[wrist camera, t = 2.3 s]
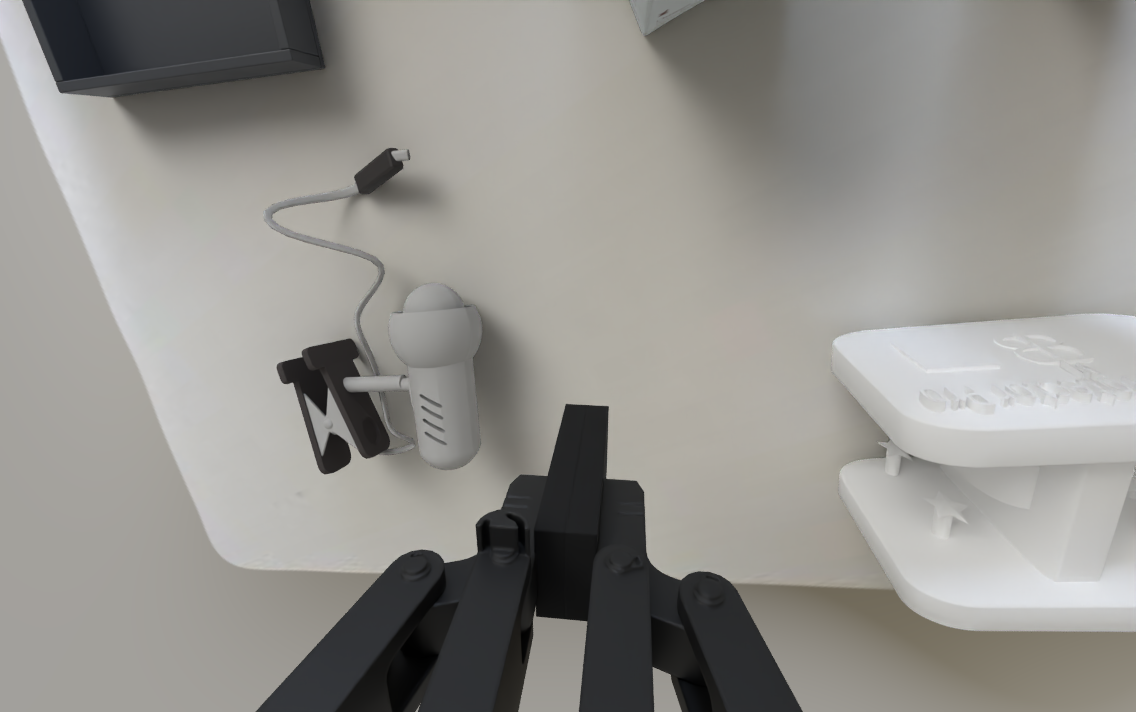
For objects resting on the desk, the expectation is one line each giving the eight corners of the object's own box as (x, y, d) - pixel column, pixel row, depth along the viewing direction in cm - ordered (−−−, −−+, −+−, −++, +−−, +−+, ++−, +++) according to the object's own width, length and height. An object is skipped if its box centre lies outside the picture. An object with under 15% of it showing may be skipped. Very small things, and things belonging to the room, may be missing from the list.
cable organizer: (811, 477, 33) (896, 635, 23) (819, 320, 29) (926, 420, 19) (1077, 467, 31) (1313, 638, 20) (1124, 295, 27) (1443, 393, 17)
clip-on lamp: (304, 181, 33) (345, 455, 35) (215, 161, 27) (273, 494, 29) (478, 155, 30) (509, 455, 33) (423, 127, 24) (466, 499, 27)
